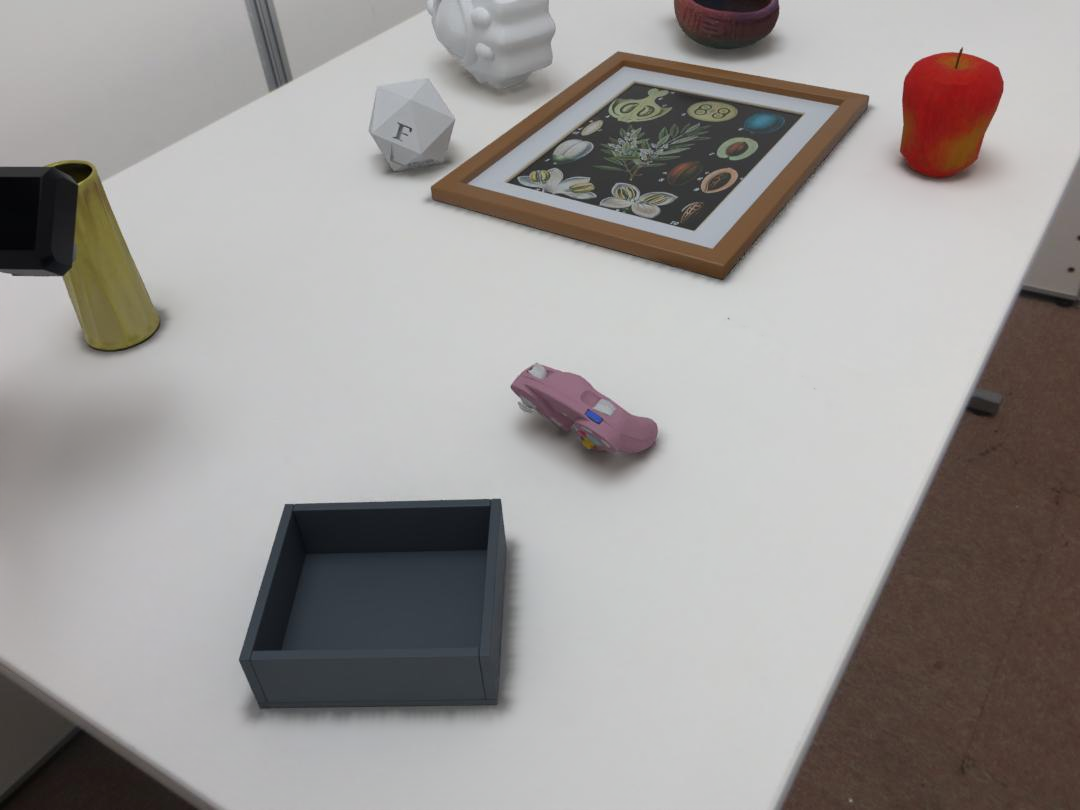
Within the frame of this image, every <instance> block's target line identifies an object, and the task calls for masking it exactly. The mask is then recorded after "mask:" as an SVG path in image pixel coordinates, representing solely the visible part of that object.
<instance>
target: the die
mask: <svg viewBox="0 0 1080 810" xmlns="http://www.w3.org/2000/svg"><path fill="white" fill-rule="evenodd" d="M455 123H456V118H455V116H454V114H453V113H452V111H451V110H450V109H449V107H448V105H447V104H446V102H445V100H444V99H443V98H442V96H441V94H440V93H439V91H438V90H437V88H436V87H435V85H434V84H433V82H432V80H431V79H430V78H429V77H425V78H419V79H414V80H412V79H411V80H407V81H406V80H405V81H401V82H395V83H388V84H382V85H377V86H376V91H375V96H374V102H373V105H372V110H371V115H370V121H369V126H368V130H367V131H368V133H369V134H370V136H371V137H372V139H373V140H374V142H375V144H376V145H377V147H378V149H379V151H380V152H381V153H382V155H383V157H384V158H385V160H386V161H387V163H388V164H389V167H390V168H391V169H392V172H394V173H395V172H401V171H405V170H411V169H418V168H422V167H423V168H424V167H428V166H435V165H439V164H444V163H445V160H446V157H447V154H448V153H447V152H448V148H449V145H450V143H451V138H452V134H453V130H454V128H455V127H454V126H455Z"/></svg>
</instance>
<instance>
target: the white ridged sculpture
mask: <svg viewBox="0 0 1080 810" xmlns="http://www.w3.org/2000/svg"><path fill="white" fill-rule="evenodd" d="M549 7H550V0H427V2H426V11H427V13H428V15H430V16H431V25H432V29H433V31H434V35H435V37H436V39H437V41H438V42H439V43H440V44H441V45H442V46H443V48H445V49H446V51H447V52H448V53H449V55H451V57H452V58H453V59H454V60H455V61H457V62H458V64H460V66H462V67H463V68H464V69H465V70H466V71H467V72H468V73H470V74H471V75H472V76H473V78H474V79H475V80H476V81H477V83H479V84H480V85H485V84H489V85H490V86H491V87H493V88H495V89H498V90H499V89H501V90H503V89H506V88H509V87H513V86H516V85H519V84H522V83H524V82H526V81H527V79H528V78H529V77H530V76H531V74H532V73H533V72H537V71H539V70H542V69H544V68H548V67H550V66H551V65H552V64H553V57H554V55H553V49H552V40H553V38H554V36H555V34H556V30H557V26H556V23H555V20H554V19H553V17H552V15H551V13H550V9H549Z"/></svg>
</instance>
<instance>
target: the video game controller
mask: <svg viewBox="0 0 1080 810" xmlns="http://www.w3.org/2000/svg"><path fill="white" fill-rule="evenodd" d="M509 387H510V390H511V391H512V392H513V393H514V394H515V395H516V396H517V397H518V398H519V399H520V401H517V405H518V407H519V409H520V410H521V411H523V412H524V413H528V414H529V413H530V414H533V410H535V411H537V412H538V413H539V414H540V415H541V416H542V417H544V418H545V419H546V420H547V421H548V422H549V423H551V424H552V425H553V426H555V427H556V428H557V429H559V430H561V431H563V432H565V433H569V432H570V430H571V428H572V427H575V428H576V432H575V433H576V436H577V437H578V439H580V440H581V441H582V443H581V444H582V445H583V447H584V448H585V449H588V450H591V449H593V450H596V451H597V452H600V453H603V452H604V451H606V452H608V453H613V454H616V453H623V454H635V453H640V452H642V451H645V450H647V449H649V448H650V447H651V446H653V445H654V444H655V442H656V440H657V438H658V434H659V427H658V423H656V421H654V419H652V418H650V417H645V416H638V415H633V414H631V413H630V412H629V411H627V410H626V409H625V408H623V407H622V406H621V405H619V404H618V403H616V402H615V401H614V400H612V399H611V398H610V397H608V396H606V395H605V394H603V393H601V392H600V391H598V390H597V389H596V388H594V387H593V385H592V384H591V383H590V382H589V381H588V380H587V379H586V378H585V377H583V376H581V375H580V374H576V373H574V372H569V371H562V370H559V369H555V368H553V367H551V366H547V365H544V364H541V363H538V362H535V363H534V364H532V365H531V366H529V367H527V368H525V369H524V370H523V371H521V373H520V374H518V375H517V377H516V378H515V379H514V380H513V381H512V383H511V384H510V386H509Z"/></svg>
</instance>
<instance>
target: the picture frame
mask: <svg viewBox="0 0 1080 810" xmlns="http://www.w3.org/2000/svg"><path fill="white" fill-rule="evenodd" d="M869 102H870V95H868V94H863V93H859V92H853V91H847V90H841V89H835V88H829V87H824V86H818V85H812V84H808V83H807V84H806V83H802V82H801V83H800V82H794V81H789V80H784V79H778V78H774V77H773V78H772V77H767V76H761V75H755V74H750V73H745V72H739V71H733V70H727V69H722V68H715V67H711V66H705V65H699V64H692V63H688V62H682V61H676V60H672V59H671V60H670V59H665V58H659V57H653V56H648V55H642V54H637V53H630V52H624V51H620V50H619V51H616V52H615V53H613V54H612V55H610V56H609V57H608V58H607V59H605V60H604V61H602V62H601V63H599V64H598V65H597V66H595V67H594V68H593V69H591V70H590V71H588V72H587V73H586V74H584V75H583V76H582V77H580V78H579V79H577V80H576V81H574V82H573V83H572V84H570V85H568V87H566V88H565V89H563V90H562V91H561V92H559V93H558V94H557V95H555V96H554V97H552V98H551V99H550V100H549V101H546V102H545V103H544V104H543V105H542V106H540V107H538V108H537V109H536V110H535V111H532V113H530V114H529V115H528V116H526V117H524V118H523V119H522V120H521V121H519V122H518V123H517V124H515V125H513V126H512V127H511V128H509V129H508V130H507V131H506V132H504V133H503V134H501V135H500V136H499V137H497V138H496V139H494V140H493V141H492V142H490V143H489V144H487V145H485V147H484V148H482V149H481V150H479V151H478V152H476V153H475V154H474V155H472V156H471V157H469V158H467V160H465V161H464V162H462V163H461V164H460V165H458V166H457V167H456V168H454V169H453V170H452V171H450V172H449V173H448V174H446V175H444V176H443V177H442V178H441V179H439V180H438V181H437V182H435V183H434V184H432V185H430V193H431V198H432V200H434V201H437V202H441V203H445V204H448V205H453V206H455V207H459V208H463V209H467V210H469V211H473V212H476V213H477V212H478V213H481V214H483V215H489V216H491V217H496V218H499V219H502V220H506V221H510V222H514V223H517V224H520V225H524V226H528V227H532V228H535V229H538V230H542V231H546V232H550V233H554V234H557V235H559V236H564V237H567V238H572V239H574V240H577V241H582V242H585V243H590V244H593V245H596V246H600V247H603V248H607V249H612V250H614V251H618V252H622V253H624V254H625V253H626V254H629V255H633V256H636V257H640V258H643V259H646V260H650V261H654V262H658V263H661V264H665V265H668V266H672V267H676V268H679V269H683V270H687V271H690V272H693V273H698V274H701V275H704V276H708V277H711V278H715V279H719V280H723V279H724V278H726V276H727V275H728V274H729V272H730V271H731V270H732V269H733V268H734V266H736V264H737V263H738V262H739V260H740V259H741V258H742V257H743V256H744V255H745V254H746V252H747V251H748V250H749V249H750V248H751V246H752V245H753V244H754V243H755V242H756V241H757V239H758V238H759V237H760V236H761V235H762V234H763V232H764V231H765V230H766V229H767V227H769V225H770V224H771V222H773V220H775V218H776V216H777V215H778V214H779V213H781V211H782V210H783V209H784V207H785V206H786V205H787V204H788V202H789V201H790V200H791V199H792V198H793V197H794V195H795V194H796V193H797V192H798V191H799V189H801V187H802V186H803V184H805V182H806V181H807V180H808V179H809V177H810V176H811V175H812V174H813V173H814V172H815V171H816V170H817V168H818V167H819V166H820V164H822V162H823V161H824V160H825V159H826V158H827V156H828V155H829V154H830V153H831V152H832V150H833V149H834V148H836V146H837V144H838V143H839V142H840V141H841V139H842V138H843V137H844V136H845V135H846V134H847V133H848V132H849V130H850V129H851V128H852V127H853V125H854V124H855V123H856V122H857V121H858V120H859V118H860V117H861V116H862V115H863V114H864V112H865V111H866V110H867V109H868V107H869Z"/></svg>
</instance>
